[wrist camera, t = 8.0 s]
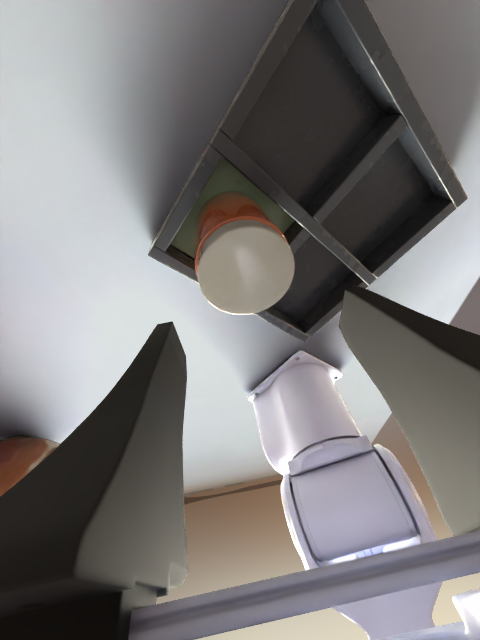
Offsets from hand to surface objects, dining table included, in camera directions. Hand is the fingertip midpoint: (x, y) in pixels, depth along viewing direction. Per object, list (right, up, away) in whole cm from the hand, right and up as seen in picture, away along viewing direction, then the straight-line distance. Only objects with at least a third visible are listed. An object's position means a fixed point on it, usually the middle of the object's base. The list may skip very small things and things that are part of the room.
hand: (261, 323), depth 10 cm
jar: (-1, +6, +7) cm, 9 cm away
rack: (+3, +8, +7) cm, 11 cm away
